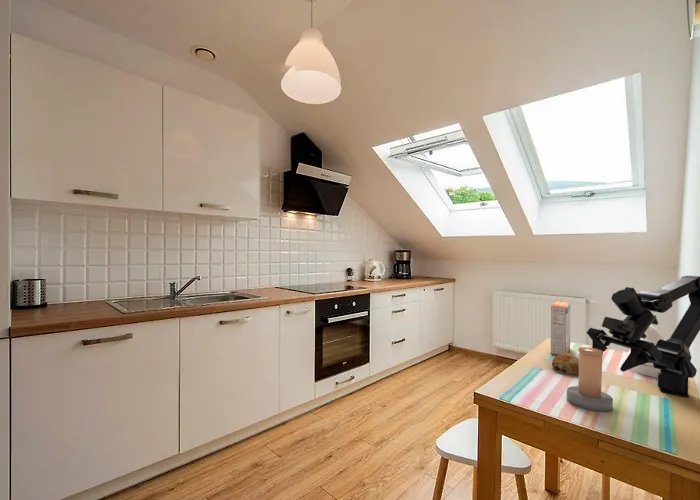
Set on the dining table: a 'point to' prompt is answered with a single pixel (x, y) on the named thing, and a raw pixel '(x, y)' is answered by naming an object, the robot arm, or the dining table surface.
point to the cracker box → (560, 327)
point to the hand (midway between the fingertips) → (605, 364)
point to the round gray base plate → (590, 401)
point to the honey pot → (648, 368)
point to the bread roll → (566, 364)
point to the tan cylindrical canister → (590, 372)
